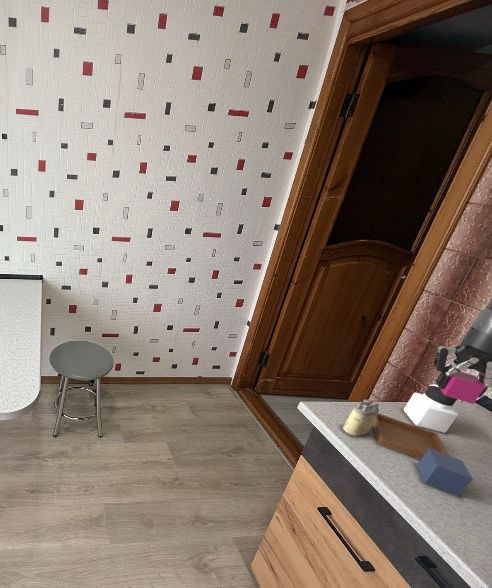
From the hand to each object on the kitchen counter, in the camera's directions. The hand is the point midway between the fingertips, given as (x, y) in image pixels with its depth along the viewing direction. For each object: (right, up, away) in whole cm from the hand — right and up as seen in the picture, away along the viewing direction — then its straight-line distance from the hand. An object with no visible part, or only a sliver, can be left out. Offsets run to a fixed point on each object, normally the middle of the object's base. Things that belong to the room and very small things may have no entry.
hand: (455, 391), depth 79 cm
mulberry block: (0, -1, 0) cm, 1 cm away
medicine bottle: (+13, -15, +20) cm, 28 cm away
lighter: (-13, -15, +14) cm, 24 cm away
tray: (-1, -17, +11) cm, 21 cm away
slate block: (-4, -22, 0) cm, 22 cm away
